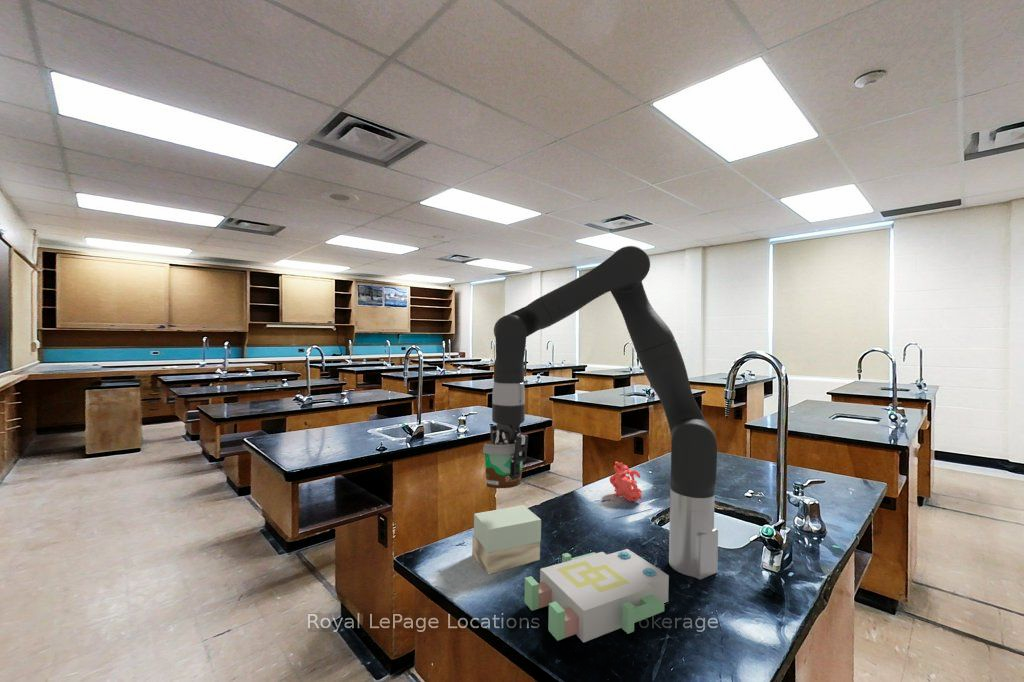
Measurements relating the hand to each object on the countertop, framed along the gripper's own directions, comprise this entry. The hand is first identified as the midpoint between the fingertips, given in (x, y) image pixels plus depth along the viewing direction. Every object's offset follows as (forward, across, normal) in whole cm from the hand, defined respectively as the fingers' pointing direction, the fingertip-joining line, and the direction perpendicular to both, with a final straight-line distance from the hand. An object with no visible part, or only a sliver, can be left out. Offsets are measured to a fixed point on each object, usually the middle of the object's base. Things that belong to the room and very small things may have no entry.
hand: (507, 473), depth 98 cm
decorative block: (+20, -23, -7) cm, 32 cm away
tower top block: (+15, 0, 0) cm, 15 cm away
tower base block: (+20, 0, 0) cm, 20 cm away
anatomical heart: (+20, +14, -52) cm, 57 cm away
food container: (+2, -1, 0) cm, 2 cm away
